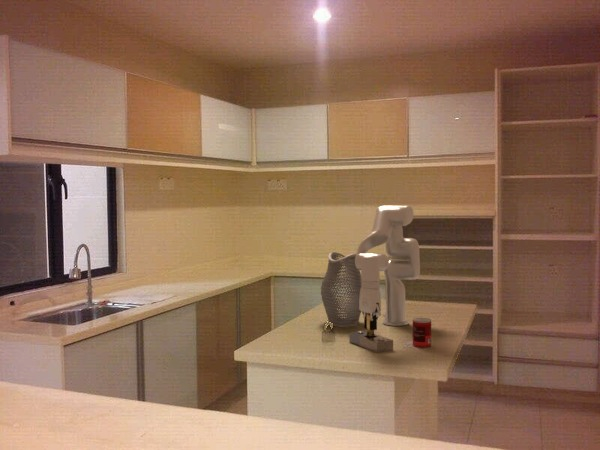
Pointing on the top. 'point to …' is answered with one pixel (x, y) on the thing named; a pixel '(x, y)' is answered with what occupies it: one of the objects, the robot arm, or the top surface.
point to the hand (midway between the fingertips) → (370, 328)
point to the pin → (369, 332)
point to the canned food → (422, 332)
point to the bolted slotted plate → (371, 341)
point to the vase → (329, 297)
